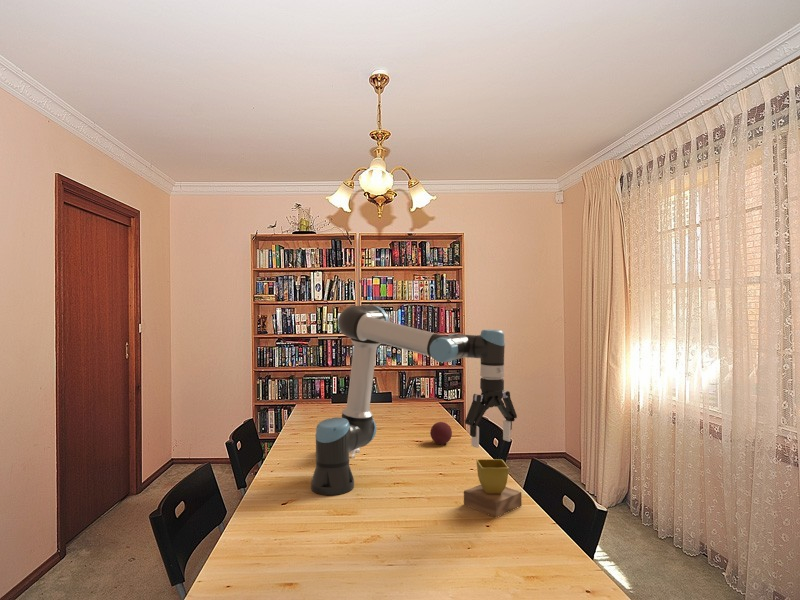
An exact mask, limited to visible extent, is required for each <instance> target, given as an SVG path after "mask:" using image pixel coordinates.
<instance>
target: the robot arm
mask: <svg viewBox="0 0 800 600" xmlns="http://www.w3.org/2000/svg"><path fill="white" fill-rule="evenodd" d="M337 321H338V322H337V324H338V328H339V331H340V332H341V334H342V335H343V336H345V337H347V338H349V339H350V341H351V342H352V344H353V350H352V359H351V367H350V376H349V384H348V385H349V386H348V395H347V401H346V402H347V403H346V407H344V409H342V411H341V416H340V417H339V416H338V417H335V416H334V417H330V418H325V419H323V420H321V421H320V422H318V424H317V425H316V430H315V468H314V469H315V470H314V471H313V474H312V478H311V482H310V489H311V491H312V492H313V493H315V494H317V495H323V496H335V495H343V494H346V493H349V492H351V491H352V490H353V489H354V488H355V478H354V475H353V472H352V469H351V467H350V453H351V451H353V450H355V449H357V448H359V449H360V448H363V447H366V446H367V445H368V444H370V443H371V442H372V441H373V440H374V438H375V437H376V433H377V423H376V422H375V418H374V417H373V412H372V410H371V409H370V407H371V398H372V390H373V383H374V382H373V381H374V374H375V366H376V357H377V348H378V347H379V346H380V345H381V344H384V345H387V346H391V347H395V348H398V349H402V350H405V351H410V352H413V353H417V354H420V355H423V356H428V357H430V358H432V359H433V360H434V361H436V362H438V363H449V362H451V361H454V360H455V361H456V360H460V359H464V358H467V359H469V358H470V359H480V370H479V371H480V381H479V382H480V386H479V387H480V390H481V393H480V394H478V393H474V394H473V395H472V402H471V404H470V407H469V410H468V413H467V414H466V417H465V420H464V424H466V425H467V426H469V430H470V431H469V434H470V435H469V436H470V437H471V439H470V441H471V443H470V444H471V446H472V447H473V448H476V449H478V448H479V447H480V427H479V426H478V425H479V424H480V422H481V420H482V418H483V416H484V415H485V414H486V412H487V410H488V409H490V408H493V407H495V408H497V409H498V410H499V412H500V413H501V415H502V416H503V418H504V419H502V421H503V424H502V440H503V441H506V442H511V441H512V440H511V439H512V438H511V437H512V436H511V433H512V432H511V431H512V429H513V427H512V426H513V422H515V420H516V419H518V418H517V417H518V415H517V412H516V409H515V407H514V403H513V402H512V399H511V392H510V391H509V390H508V391H507V390H505V379H504V376H505V346H506V343H505V333H504V331H503V330H501V329H482V330H481V332H480V335H479V334H477V335H476V334H475V335H474V334H461V333H450V334H448V335H443V334H441V333H440V334H438V333H435V332H431V331H427V330H423V329H419V328H416V327H411V326H407V325H404V324H400V323H396V322H391V321H390V319H389V315H388V314H387V313H386V310H384V308H382V307H381V306H377V305H370V304H369V305H350V306H347V307H346V308H344V309H343V310H342V311H341V313H340V314H339V316H338V319H337Z"/></svg>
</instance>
